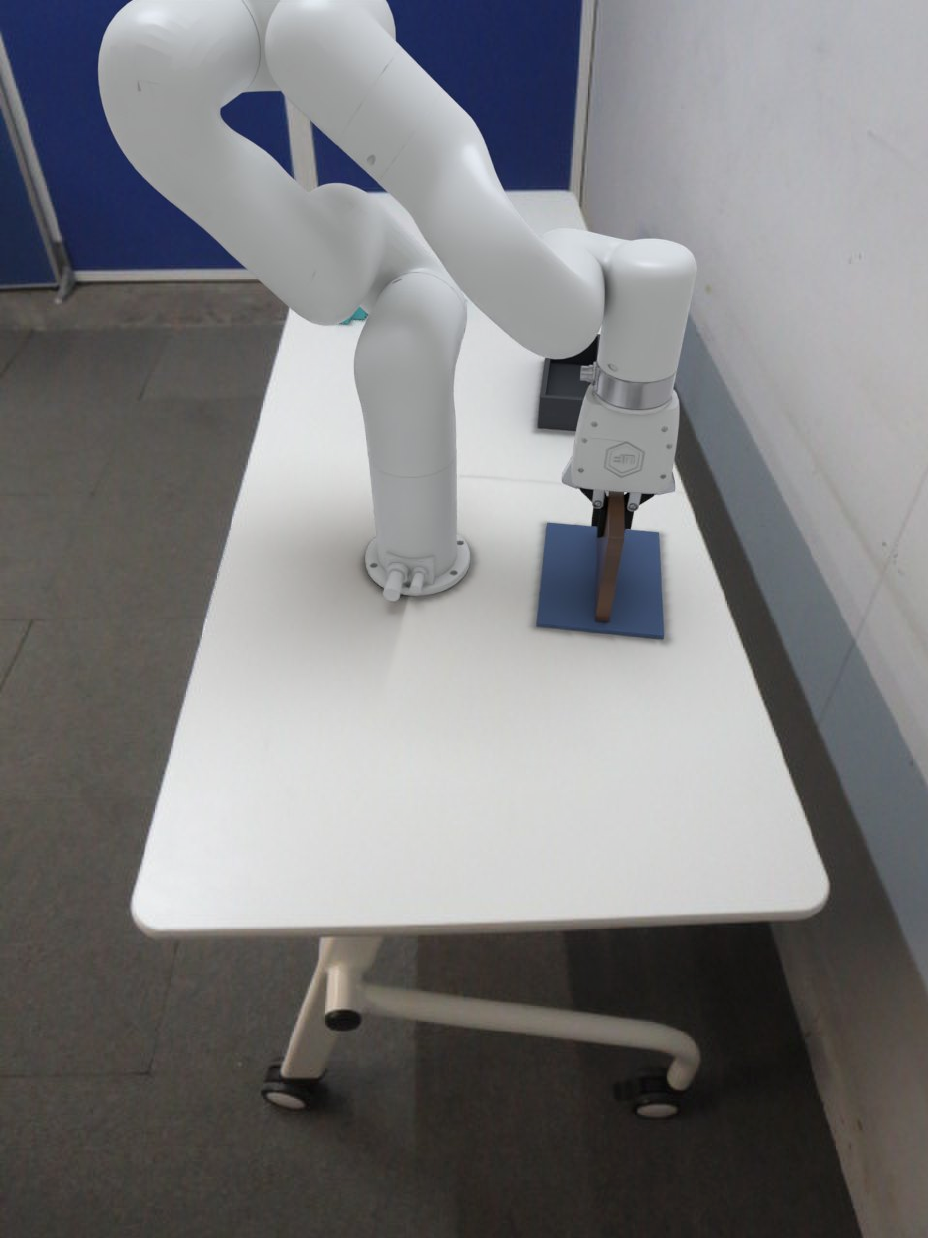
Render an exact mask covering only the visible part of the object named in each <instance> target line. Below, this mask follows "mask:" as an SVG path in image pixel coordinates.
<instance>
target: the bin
mask: <svg viewBox="0 0 928 1238" xmlns="http://www.w3.org/2000/svg"><path fill="white" fill-rule="evenodd" d="M599 342H600V333H598V334H597V336H596V337H595V339H594V341H593V342H592V343H591V344H590V345H589V346H588V347H587V348H586V349H585V350H583V351H582V352H581V353H579V354H577V355H575V356H572V357H569V358H565V359H551V358H545V357H544V364H543V370H542V377H541V378H542V379H541V386H540V393H539V401H538V412H537V413H538V415H537V416H538V417H537V429H542V430H554V431H566V432H569V431H570V432H576V428H577V423H578V418H579V415H580V411H581V407H582V403H583V400H584V397H585V394H586V391H587V389H588V387H589V385H590V384H591V382H587V381H585V380H580V373H581V366H589V365H593V364H594V362H597V355H598V350H599Z"/></svg>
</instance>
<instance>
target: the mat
mask: <svg viewBox="0 0 928 1238" xmlns="http://www.w3.org/2000/svg"><path fill="white" fill-rule="evenodd" d="M545 529H546V530H545V539H544V546H543V547H544V548H543V557H542V568H541V575H540V577H541V578H540V588H539V597H538V606H537V617H536V626H535V627H536V628H537V627H538V628H547V629H548V628H549V629H557V630H568V631H577V632H589V633H599V634H608V635H619V636H629V637H637V638H638V637H639V638H646V639H647V638H649V639H656V640H657V639H658V640H664V638H665V620H664V604H663V603H664V602H663V601H664V600H663V583H662V581H663V580H662V564H661V544H660V532H659V531H651V530H637V529H631V530H630V529H625V534H624V543H623V549H622V554H621V560H620V565H619V571H618V577H617V582H616V588H615V593H614V599H613V604H612V610H611V615H610V621H609V622H606V621H595V599H596V567H597V527H594V526H591V525H580V524H569V523H558V522H546V528H545Z"/></svg>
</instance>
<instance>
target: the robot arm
mask: <svg viewBox="0 0 928 1238" xmlns="http://www.w3.org/2000/svg"><path fill="white" fill-rule="evenodd" d="M396 36H397V35H396V25H395V19H394V15H393V12H392V10H391V7H390V5H389V3H388V1H387V0H131V1H130V2H128V3H126V5H124V6H123V7H122V8H121V9H120V10H119V11H118V12H117V13H116V14H115V15H114V17H113V18H112V20H111V21H110V23H109V24H108V26H107V27H106V30H105V32H104V34H103V37H102V41H101V44H100V48H99V53H98V63H97V65H98V66H97V76H98V78H97V79H98V87H99V88H98V89H99V95H100V99H101V104H102V107H103V112H104V114H105V117H106V121H107V123H108V126H109V128H110V130H111V132H112V135H113V137H114V139H115V141H116V142H117V144H118V146H119V148H120V150H121V151H122V153H123V154H124V156H125V157H126V158H127V160H128V161H129V163H130V164H131V165H132V167H134V169H135V170H136V171H137V172H138V173H139V174H140V175H141V177H142V178H143V179H144V180H145V181H146V182H147V183H149V185H151V186H152V187H153V188H154V189H155V190H156V191H157V192H158V193H160V194H161V196H163V197H164V198H166V199H167V200H168V201H169V202H170V203H171V204H173V205H174V206H175V207H176V208H178V210H180V211H181V212H183V214H185V215H186V216H187V217H188V218H190V219H191V220H192V221H194V222H195V223H196V224H197V225H198V226H199V227H201V228H202V229H203V230H204V231H205V232H206V233H208V234H209V235H210V236H211V237H212V238H213V239H214V240H215V241H216V242H217V243H218V244H219V245H221V247H223V249H225V251H227V252H228V254H229V255H231V256H232V257H233V258H234V259H235V260H236V261H237V262H238V263H239V264H241V266H243V267H244V268H245V269H246V270H247V271H248V272H249V273H251V274H252V275H253V277H255V278H256V279H257V280H258V281H259V282H260V283H262V285H264V286H265V287H266V288H267V289H268V290H269V291H270V292H271V293H272V294H274V295H275V296H276V297H277V298H278V299H279V300H280V301H282V302H283V303H284V304H285V305H286V306H287V307H288V308H289V309H290V310H291V311H293V312H294V313H295V314H297V315H298V316H299V317H301V318H302V319H304V320H306V321H308V322H309V323H311V324H314V325H318V326H322V327H331V326H337V325H340V324H341V322H343V321H345V320H347V319H348V318H349V317H350V316H351V315H353V313H354V312H355V311H356V310H357V309H358V307H359V306H360V307H361V308H362V309H363V310H364V311H365V312H366V313H367V315H368V317H367V318H366V320H365V322H364V324H363V327H362V329H361V332H360V333H359V337H358V338H357V339H358V340H357V342H356V346H355V350H354V358H353V378H354V383H355V384H354V385H355V389H356V393H357V397H358V400H359V405H360V409H361V412H362V413H361V414H362V418H363V426H364V433H365V441H366V442H365V443H366V451H367V459H368V469H369V477H370V479H369V480H370V488H371V500H372V508H373V517H374V519H373V520H374V529H375V537H374V538H373V539H372V540H371V541H370V543H368V545H367V547H366V551H365V554H364V556H365V557H364V561H365V569H366V571H367V574H368V576H370V578H371V580H372V581H374V582H375V583H376V584H377V585H379V586H380V587H381V588H383V592H382V597H383V598H384V600H386V601H388V602H393V603H394V602H397V601H398V600H400V597H401V595H404V596H412V597H419V596H429V595H434V594H438V593H440V592H443V591H446V590H448V589H449V588H452V587H454V586H455V585H456V584H458V583H459V582H460V581H461V580H462V579H463V578H464V577H465V576H466V574H467V572H468V570H469V568H470V563H471V551H470V546H469V545H468V543H467V541H466V539H464V537H463V536H462V535H461V534H460V533H458V474H457V473H458V472H457V471H458V467H457V466H458V461H457V460H458V455H457V454H458V450H457V449H458V448H457V417H456V406H455V405H456V404H455V378H456V377H455V375H456V369H457V363H458V359H459V355H460V351H461V348H462V343H463V340H464V337H465V333H466V329H467V322H468V306H467V301H466V298H465V296H466V297H467V298H468V300H469V301H470V302H471V303H472V304H473V305H475V306H476V308H477V309H478V310H479V311H481V312H482V313H483V315H485V316H486V317H487V318H488V319H489V320H490V321H492V322H493V323H494V324H495V325H496V326H497V327H498V328H500V330H502V331H503V332H504V333H505V334H506V335H507V336H508V337H509V338H511V339H512V340H513V341H515V343H517V344H518V345H519V346H521V347H522V348H523V349H525V350H526V351H529V352H531V353H533V354H535V355H537V356H540V357H543V358H544V359H545V358H551V359H565V358H569V357H572V356H575V355H577V354H579V353H581V352H582V351H583V350H585V349H586V348H587V347H588V346H589V345H590V344H591V343H592V342H593V341H594V339H595V337H596V336H597V334H600V342H599V350H598V355H597V362H594V364H593V365H589V366H581V373H580V380H585V381H587V382H591V384H590V385H589V387H588V389H587V391H586V394H585V397H584V400H583V403H582V407H581V411H580V415H579V418H578V423H577V428H576V431H575V434H574V439H573V440H574V441H573V446H572V454H571V455H572V456H571V457H570V458H569V460H568V461H567V464H566V465H565V467H564V469H563V471H562V472H561V483H562V484H563V485H566V486H568V487H571V488H573V489H575V490H579V491H580V492H581V493H582V495H584V497H586V499H587V500H589V501H590V502H591V505H592V512H591V522H590V523H591V524H590V526H593V527H597V538H601V537H603V533H604V527H605V520H606V514H607V496H606V492H605V491H615V492H624V534H625V529H628V530H632V527H633V522H634V521H633V520H634V516H635V512H636V511H638V509H639V507H640V506H641V505H643V504H644V503H646V502H647V501H649V500H651V499H652V498H654V497H655V496H661V495H665V494H669V493H673V492H675V490H676V480H675V476H674V473H673V471H674V464H675V457H676V452H677V445H678V437H679V428H680V399H679V396H678V393H677V392H676V390H675V389H674V387H675V383H676V378H677V373H678V367H679V362H680V358H681V353H682V348H683V344H684V339H685V333H686V328H687V324H688V319H689V313H690V308H691V303H692V298H693V294H694V289H695V284H696V278H697V272H698V265H697V259H696V258H695V255H694V254H693V252H692V251H691V250H690V249H688V247H687V246H684V245H683V244H681V243H678V242H675V241H672V240H668V239H662V238H638V239H633V240H630V239H629V240H628V239H623V238H618V237H613V236H609V235H606V234H601V233H596V232H594V231H593V232H592V231H588V230H585V229H579V228H573V227H563V228H562V227H559V228H553V229H551V230H548V231H546V232H544V233H542V234H541V235H537V233H535V232H534V230H533V229H532V228H531V227H530V226H529V224H528V223H527V222H526V221H525V220H524V219H523V217H522V216H521V215H520V213H519V212H518V211H517V209H516V207H515V206H514V205H513V203H512V201H511V200H510V198H509V197H508V195H507V193H506V192H505V189H504V187H503V185H502V183H501V181H500V179H499V177H498V175H497V173H496V170H495V167H494V163H493V161H492V158H491V155H490V151H489V150H488V146H487V144H486V141H485V139H484V137H483V134H482V132H481V131H480V128H479V127H478V126H477V123H476V122H475V121H474V119H473V118H472V116H470V115H469V114H468V112H466V110H465V109H463V107H461V106H460V105H459V104H458V102H456V101H455V100H454V98H452V97H451V96H450V95H449V93H448V92H446V91H445V90H444V89H443V87H441V86H440V84H438V82H436V81H435V80H434V79H433V77H431V75H430V74H428V72H427V71H426V70H425V69H424V68H422V66H421V65H420V64H418V63H417V61H416V60H415V59H414V58H413V57H412V56H411V55H410V54H409V53H408V52H407V51H406V50H405V49H404V48H403V47H402V46H401V45H400V44H399V43H398V42H397V37H396ZM251 92H252V93H253V92H281V93H282V94H283V95H284V97H285V99H287V100H288V102H289V103H290V104H292V105H293V106H294V107H295V108H296V110H298V111H299V112H300V113H301V114H302V115H303V116H304V117H306V119H308V120H309V121H310V122H311V123H312V124H313V125H314V126H316V128H317V129H319V130H320V131H321V132H322V134H324V135H325V136H327V138H328V139H329V140H330V141H331V142H332V143H334V144H335V145H336V146H338V148H339V149H340V150H342V151H343V152H344V153H345V154H346V155H347V156H348V157H349V158H350V159H351V160H353V161H354V162H355V163H356V164H357V165H358V167H360V168H361V169H362V170H363V171H365V172H366V173H367V174H368V175H369V176H370V177H371V178H372V179H373V180H374V181H375V182H377V184H378V185H379V186H380V187H381V188H383V190H385V191H386V192H387V193H388V194H389V195H390V196H391V197H392V198H393V199H394V200H395V201H396V202H398V203H399V204H400V206H402V207H403V208H404V209H405V210H406V212H407V213H408V214H409V215H410V217H411V218H412V220H413V221H414V223H415V225H416V227H417V229H418V230H419V232H420V234H421V236H422V237H423V239H424V240H425V242H426V244H427V245H428V246H429V247H430V249H431V251H433V253H434V255H436V257H437V259H438V260H437V259H436V257H434V255H432V253H431V252H430V251H429V250H427V248H426V247H425V246H424V245H423V244H422V243H421V242H420V241H419V240H418V239H417V238H416V236H415V235H413V234H412V233H411V232H410V231H409V229H407V228H406V226H405V225H404V224H402V222H401V221H400V220H399V219H398V218H397V217H396V216H395V215H394V214H393V213H392V212H391V211H390V210H389V209H388V208H387V207H386V206H385V205H384V204H383V203H382V202H380V201H379V200H378V199H376V198H375V197H374V196H373V195H371V194H370V193H368V192H366V190H363V189H361V188H359V187H358V186H354V185H351V184H347V183H343V182H332V183H331V182H330V183H325V184H322V185H319V186H317V187H315V188H313V189H312V190H310V191H307V190H306V189H305V188H304V187H303V186H302V185H301V184H300V183H298V181H297V180H296V179H294V178H293V176H291V175H290V174H289V173H288V172H287V171H286V170H285V169H284V168H283V166H281V164H280V163H279V162H278V161H277V159H275V158H274V157H273V156H272V155H271V154H270V153H268V152H267V151H266V150H265V149H263V148H262V147H260V146H259V145H257V144H256V143H255V142H253V141H251V140H250V139H248V138H247V137H245V136H243V135H242V134H240V133H239V132H237V131H235V130H234V129H232V128H231V127H230V126H229V125H228V124H227V123H226V122H225V121H224V119H223V117H222V115H221V109H222V108H223V107H225V106H227V104H229V103H230V102H231V101H233V100H234V99H235V98H237V97H238V96H239V95H241V94H242V93H251ZM439 261H440V262H439ZM461 290H462V291H461ZM599 332H600V333H599Z"/></svg>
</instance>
